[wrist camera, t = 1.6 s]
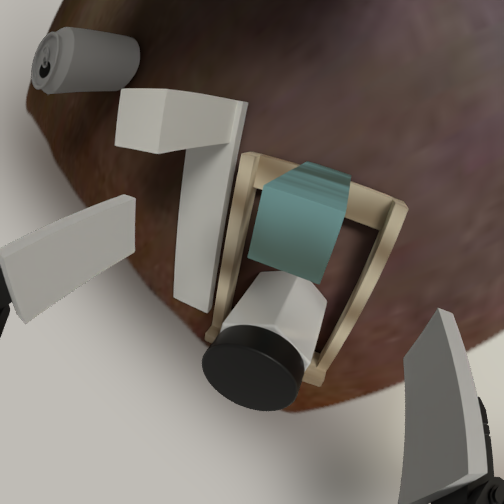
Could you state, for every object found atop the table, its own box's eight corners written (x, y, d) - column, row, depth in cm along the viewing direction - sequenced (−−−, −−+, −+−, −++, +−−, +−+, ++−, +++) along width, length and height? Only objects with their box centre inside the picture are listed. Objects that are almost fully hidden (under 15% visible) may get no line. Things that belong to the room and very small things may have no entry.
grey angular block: (201, 96, 24) (116, 88, 14) (248, 102, 22) (174, 89, 13) (178, 292, 35) (123, 344, 26) (211, 308, 34) (160, 368, 25)
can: (99, 87, 27) (23, 93, 17) (114, 37, 24) (38, 29, 13) (134, 95, 26) (48, 99, 16) (152, 38, 22) (68, 22, 12)
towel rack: (252, 146, 24) (173, 161, 14) (405, 196, 21) (443, 251, 11) (219, 320, 34) (167, 387, 24) (325, 362, 31) (302, 445, 21)
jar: (236, 288, 32) (180, 357, 22) (288, 251, 28) (241, 325, 17) (285, 341, 33) (249, 420, 22) (340, 314, 28) (321, 403, 18)
